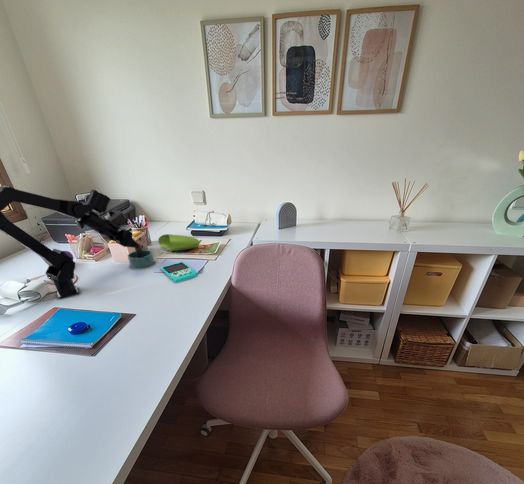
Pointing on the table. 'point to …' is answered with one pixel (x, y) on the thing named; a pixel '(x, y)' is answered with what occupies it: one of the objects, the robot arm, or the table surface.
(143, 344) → the table surface
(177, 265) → the handheld game console
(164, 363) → the table surface
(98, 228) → the robot arm
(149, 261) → the pen pot
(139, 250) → the marker
